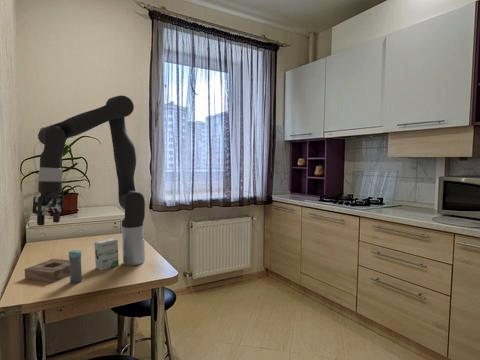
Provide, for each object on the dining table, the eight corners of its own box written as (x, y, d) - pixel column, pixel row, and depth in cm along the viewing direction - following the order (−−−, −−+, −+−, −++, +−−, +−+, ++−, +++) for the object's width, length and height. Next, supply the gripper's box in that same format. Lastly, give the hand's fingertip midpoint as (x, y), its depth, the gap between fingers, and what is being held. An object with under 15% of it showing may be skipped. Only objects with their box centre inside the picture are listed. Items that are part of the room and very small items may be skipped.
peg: (75, 279, 127) (74, 249, 126) (84, 280, 125) (83, 250, 125) (67, 283, 123) (66, 252, 122) (76, 284, 121) (75, 253, 121)
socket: (54, 267, 140) (53, 258, 140) (80, 270, 137) (80, 261, 136) (25, 278, 127) (24, 269, 127) (53, 282, 123) (52, 272, 123)
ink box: (113, 263, 146) (112, 237, 145) (119, 265, 143) (118, 239, 142) (94, 268, 139) (93, 241, 139) (100, 270, 136) (99, 243, 136)
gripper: (46, 180, 111) (45, 227, 111) (71, 180, 125) (70, 221, 125) (26, 179, 111) (24, 226, 111) (53, 179, 126) (51, 220, 126)
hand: (48, 223), depth 118 cm, fingers open, 8 cm apart
